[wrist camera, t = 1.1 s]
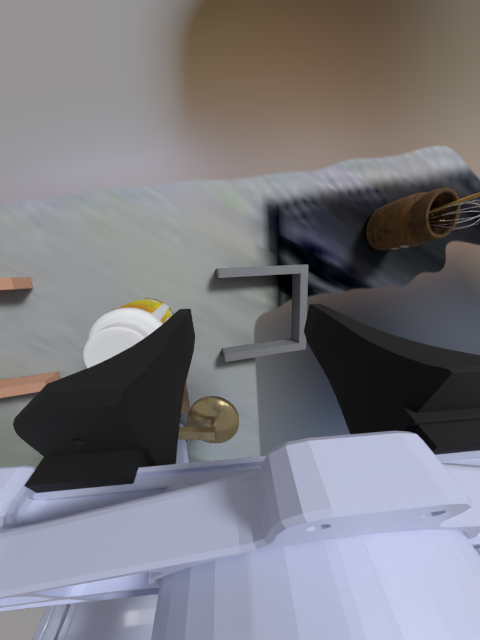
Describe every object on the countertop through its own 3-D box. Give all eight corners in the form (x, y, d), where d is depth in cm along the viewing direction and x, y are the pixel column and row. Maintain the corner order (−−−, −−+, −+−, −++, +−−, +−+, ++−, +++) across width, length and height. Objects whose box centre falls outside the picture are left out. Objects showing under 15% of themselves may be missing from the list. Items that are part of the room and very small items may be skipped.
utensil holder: (357, 224, 26) (489, 181, 14) (390, 195, 26) (545, 131, 15) (373, 260, 28) (502, 247, 16) (404, 233, 28) (551, 202, 16)
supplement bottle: (111, 319, 21) (42, 356, 11) (151, 287, 21) (117, 294, 11) (150, 353, 22) (119, 411, 13) (186, 323, 23) (182, 356, 13)
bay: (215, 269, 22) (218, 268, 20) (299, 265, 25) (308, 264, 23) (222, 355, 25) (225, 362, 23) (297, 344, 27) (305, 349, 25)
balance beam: (240, 439, 19) (238, 461, 17) (74, 437, 20) (52, 457, 18) (237, 396, 18) (235, 413, 16) (62, 396, 19) (37, 413, 17)
